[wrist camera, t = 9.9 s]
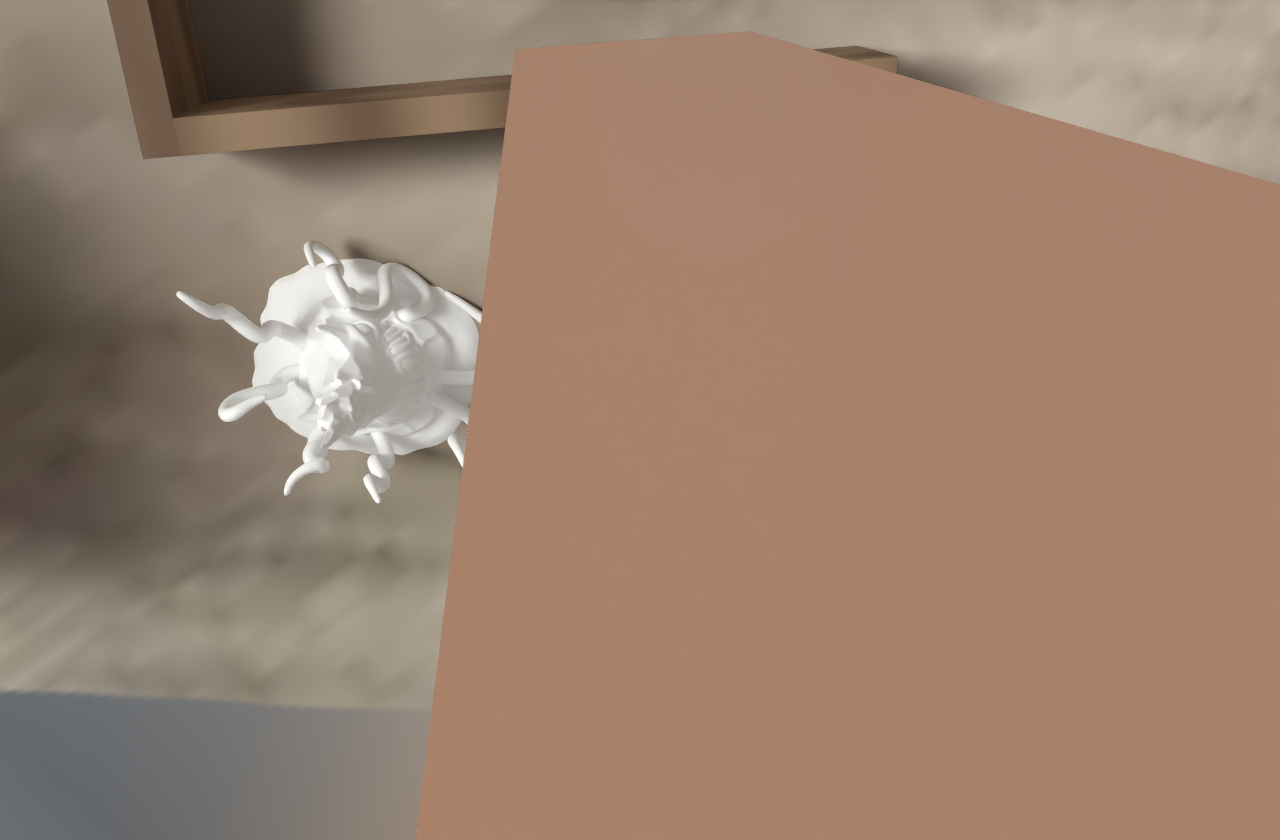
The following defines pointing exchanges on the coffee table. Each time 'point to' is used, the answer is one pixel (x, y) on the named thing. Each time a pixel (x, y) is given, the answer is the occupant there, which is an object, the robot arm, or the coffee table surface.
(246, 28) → the coffee table surface
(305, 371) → the white tentacle figurine
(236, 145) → the wooden tray
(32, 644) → the coffee table surface
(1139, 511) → the salmon orange rectangular slab
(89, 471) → the coffee table surface
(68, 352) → the coffee table surface
